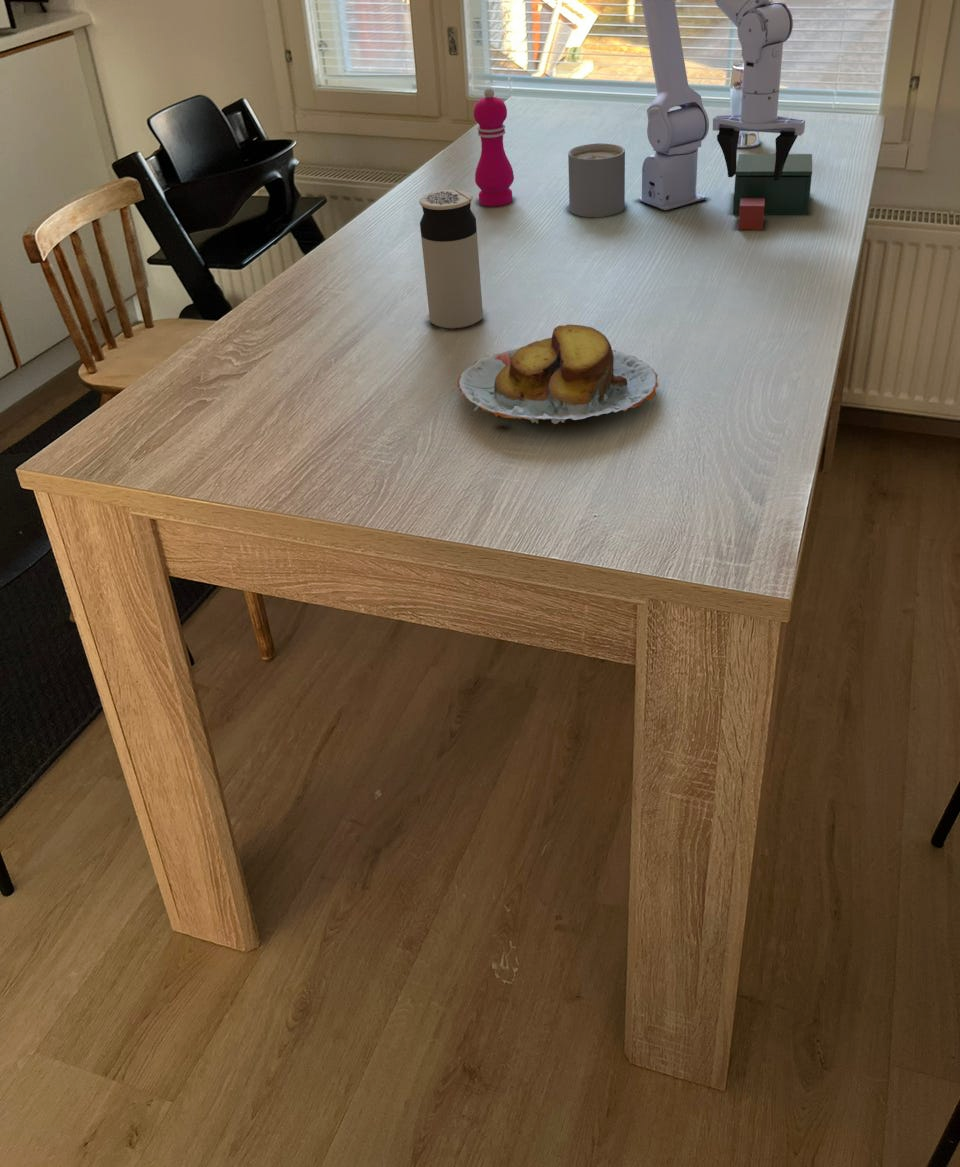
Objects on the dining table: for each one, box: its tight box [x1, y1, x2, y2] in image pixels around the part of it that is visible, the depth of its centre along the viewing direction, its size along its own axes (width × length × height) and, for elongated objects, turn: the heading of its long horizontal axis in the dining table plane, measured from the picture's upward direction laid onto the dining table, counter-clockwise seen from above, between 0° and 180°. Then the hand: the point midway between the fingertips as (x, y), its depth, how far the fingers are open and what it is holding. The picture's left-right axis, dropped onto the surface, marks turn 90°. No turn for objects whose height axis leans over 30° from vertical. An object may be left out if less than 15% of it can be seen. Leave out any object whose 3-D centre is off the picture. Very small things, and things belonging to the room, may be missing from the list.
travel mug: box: [418, 189, 484, 330], centre depth 162 cm, size 8×8×18 cm
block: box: [737, 198, 765, 231], centre depth 190 cm, size 4×4×4 cm
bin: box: [732, 175, 813, 216], centre depth 197 cm, size 11×13×6 cm
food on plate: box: [457, 324, 659, 428], centre depth 143 cm, size 25×25×7 cm
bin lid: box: [734, 153, 813, 177], centre depth 194 cm, size 11×13×1 cm
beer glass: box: [729, 61, 761, 149], centre depth 225 cm, size 7×7×15 cm
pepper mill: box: [473, 87, 515, 208], centre depth 205 cm, size 7×7×20 cm
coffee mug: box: [567, 142, 626, 218], centre depth 202 cm, size 13×10×10 cm
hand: (754, 177), depth 186 cm, fingers open, 7 cm apart
